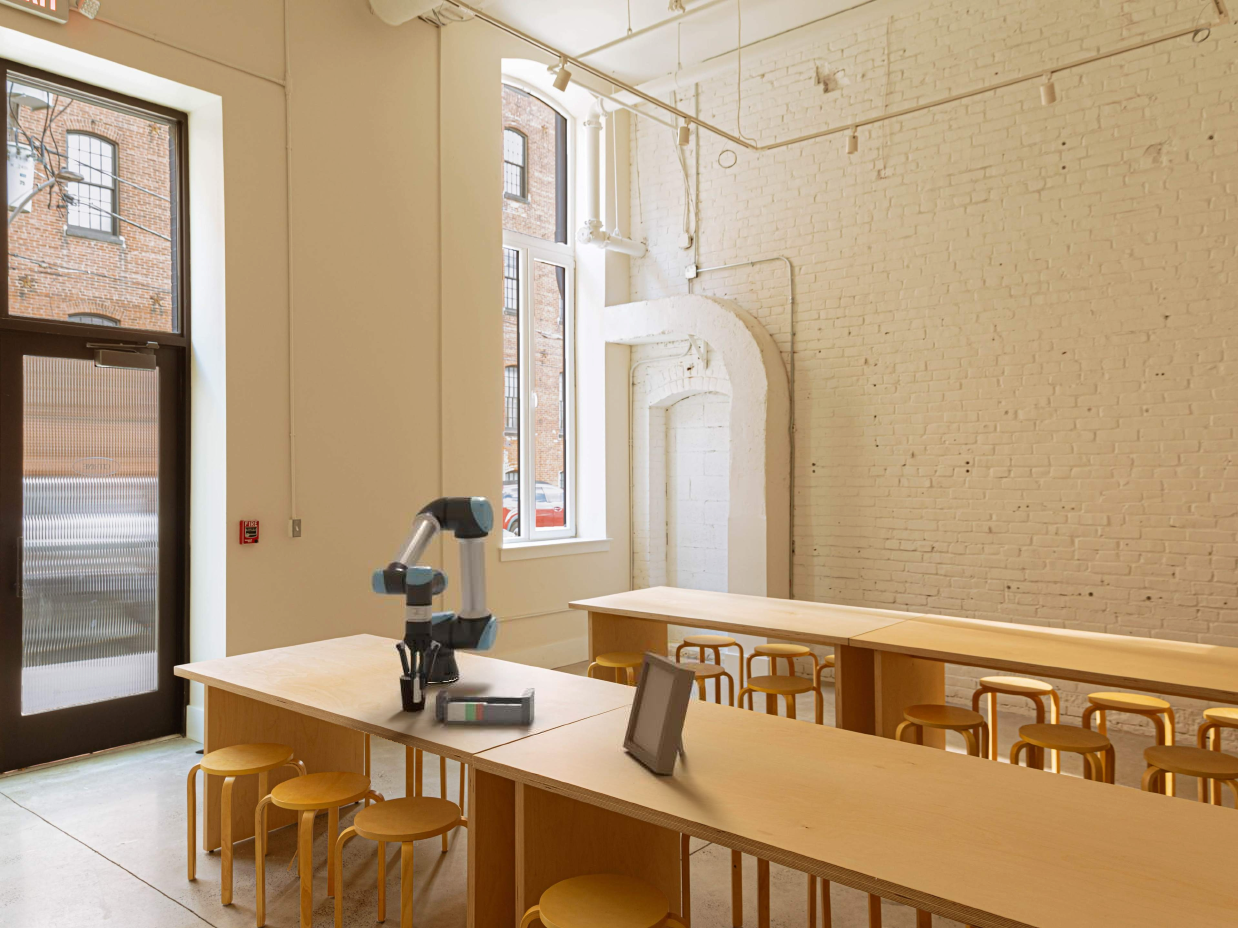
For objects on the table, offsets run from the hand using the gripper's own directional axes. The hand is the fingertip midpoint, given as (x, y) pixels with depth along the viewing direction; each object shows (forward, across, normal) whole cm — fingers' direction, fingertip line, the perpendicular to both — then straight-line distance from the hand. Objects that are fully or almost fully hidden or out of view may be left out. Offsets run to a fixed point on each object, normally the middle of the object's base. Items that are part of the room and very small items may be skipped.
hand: (417, 700), depth 250 cm
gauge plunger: (+4, +13, -1) cm, 14 cm away
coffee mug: (+5, -3, +12) cm, 14 cm away
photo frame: (+6, +71, -35) cm, 79 cm away
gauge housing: (+5, +21, 0) cm, 22 cm away
